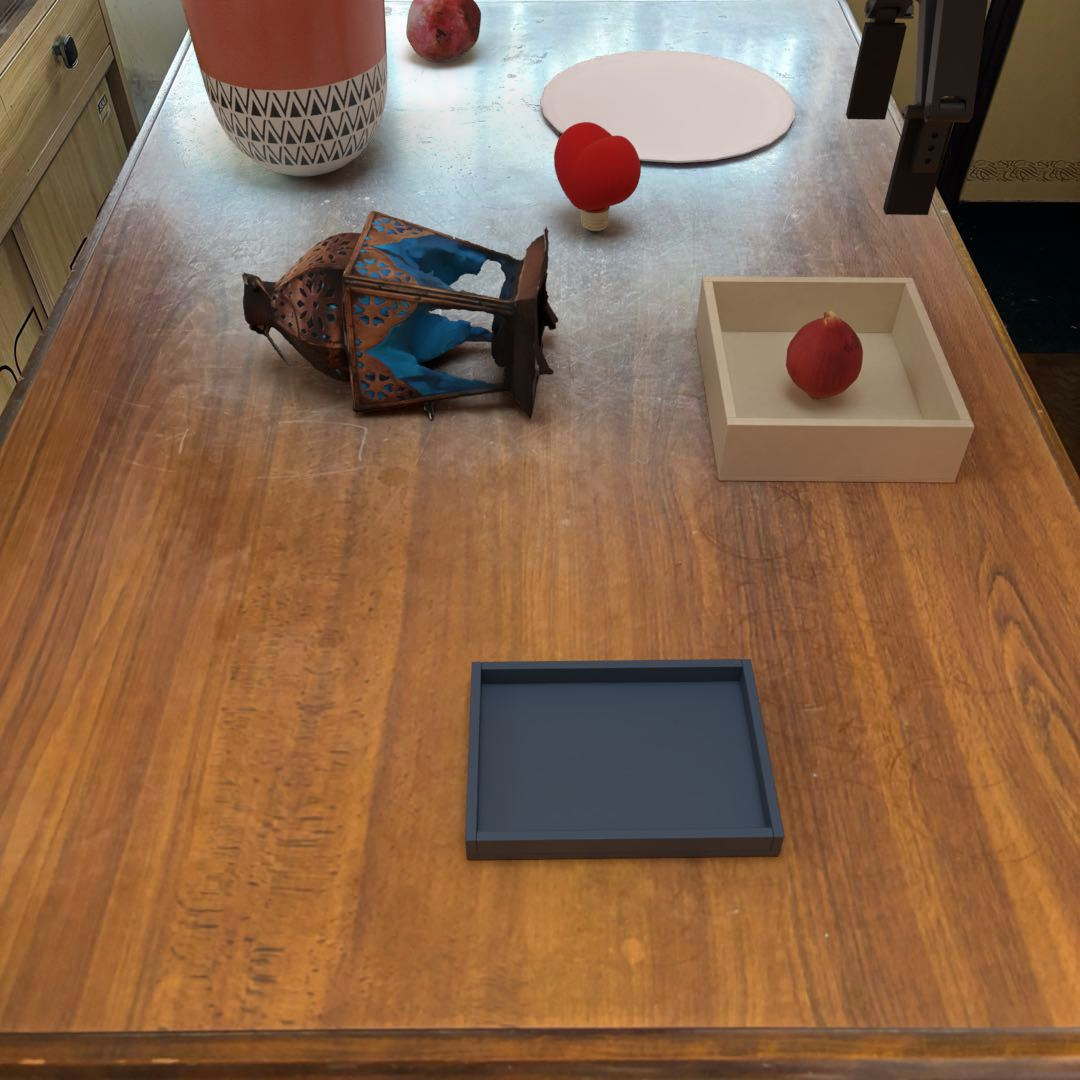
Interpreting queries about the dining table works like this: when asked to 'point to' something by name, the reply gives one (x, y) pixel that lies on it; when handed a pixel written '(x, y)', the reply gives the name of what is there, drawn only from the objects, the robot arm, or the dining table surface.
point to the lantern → (405, 313)
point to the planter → (293, 77)
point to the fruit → (443, 28)
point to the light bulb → (595, 171)
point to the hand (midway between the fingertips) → (883, 162)
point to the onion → (824, 357)
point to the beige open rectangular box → (845, 419)
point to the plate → (672, 104)
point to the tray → (618, 761)
